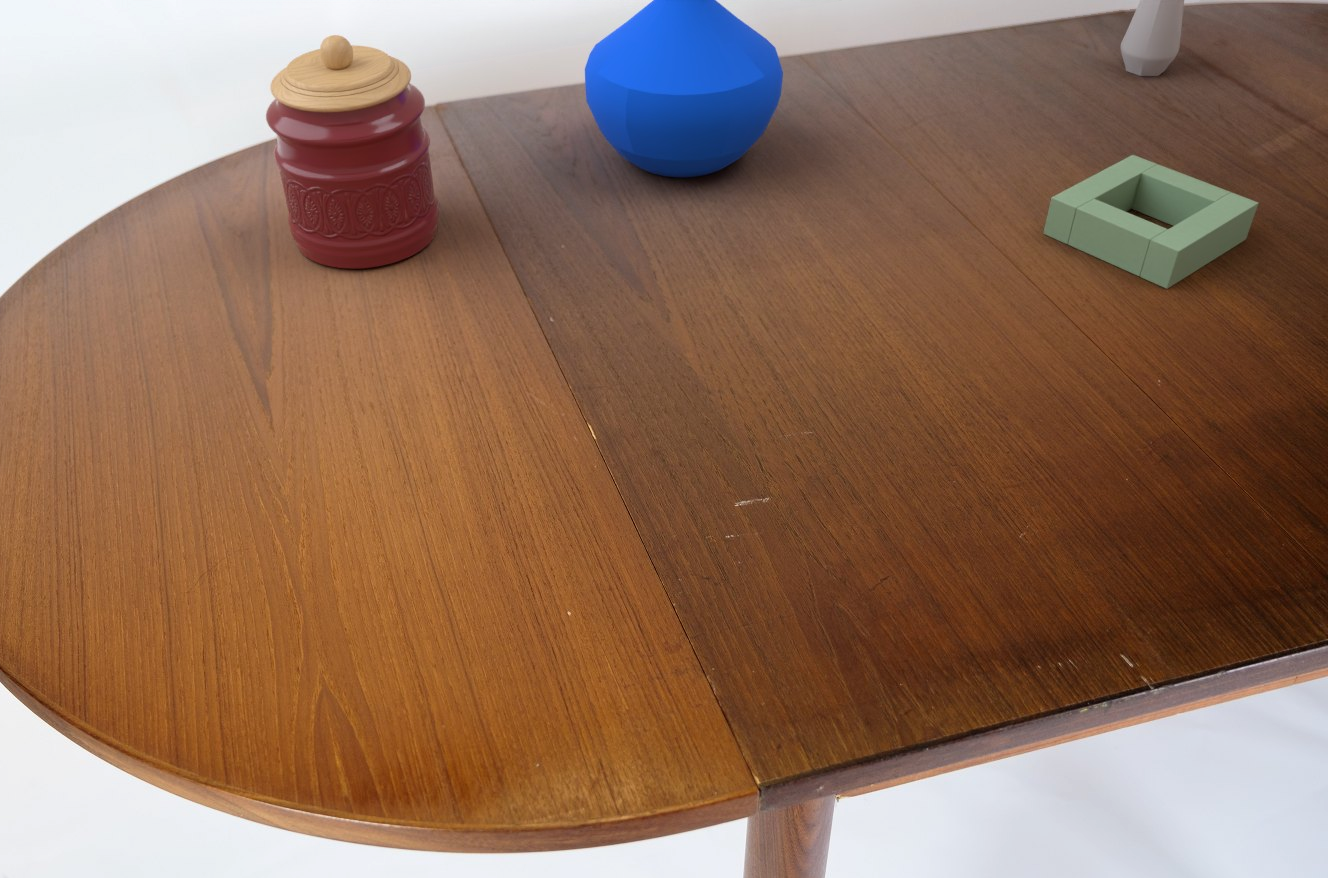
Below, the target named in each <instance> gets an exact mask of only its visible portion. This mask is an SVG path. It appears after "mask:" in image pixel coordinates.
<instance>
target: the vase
mask: <svg viewBox="0 0 1328 878" xmlns="http://www.w3.org/2000/svg"><path fill="white" fill-rule="evenodd" d="M783 76H784V71H783V68H782V64H781V62H780V57H779V55H778V52H777V48H776V46H775V45H774V44H773V43H771V42H770V40H768V38H766V37H764V36H763V35H762V34H761V33H759V32H758V31H757V30H755V29H754V28H752V27H751V26H750V25H748V24H747V23H746V22H744V21H743V20H741V19H740V18H738V17H737V16H736V15H735V14H733V13H732V12H731V11H730V10H729V9H727V8H726V7H725V6H723V5H722V4H721V3H720V2H719V1H717V0H651V2H649V3H648V4H647V5H646V6H644V7H643V8H642V9H640V10H639V11H638V12H636V13H635V14H634V15H633V16H631V18H629V19H628V20H627V21H625V22H624V23H623V24H622V25H620V26H619V27H617V28H616V29H615V30H613V31H612V32H610V33H609V34H608V35H607V36H605V37H604V38H602V39H600V41H598V42H597V43H595V45H594V46H593V48H592V49H591V51H590V53H589V56H588V58H587V61H586V64H585V66H584V84H585V85H584V86H585V100H586V104H587V106H588V108H589V110H590V112H591V114H592V117H593V118H594V121H595V123H596V125H597V127H598V130H599V131H600V133H601V134H602V136H603V137H604V139H605V140H606V142H608V144H609V145H611V147H612V148H613V149H614V150H615V151H616V153H618V155H620V156H621V157H623V158H624V159H625V160H627V161H628V162H629V163H631V164H632V165H634V166H636V167H638V168H639V169H641V170H642V171H645V172H648V173H650V174H654V175H658V176H663V177H668V178H669V177H670V178H695V177H700V176H701V177H702V176H707V175H710V174H713V173H716V172H719V171H721V170H723V169H724V168H726V167H728V166H729V165H731V164H733V163H734V162H737V161H738V160H739V159H741V158H742V157H743V156H744V155H746V153H747V152H748V151H749V150H750V149H751V148H752V146H753V145H755V144H756V142H757V141H758V140H759V139H760V138H761V137H762V136H763V135H764V133H765V131H766V130H767V127H768V125H769V123H770V121H771V119H772V118H773V115H774V113H775V111H776V109H777V107H778V105H779V102H780V99H781V96H782V88H783V78H784V77H783Z"/></svg>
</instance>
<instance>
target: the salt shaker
mask: <svg viewBox="0 0 1328 878" xmlns="http://www.w3.org/2000/svg"><path fill="white" fill-rule="evenodd" d="M1184 6H1185V0H1139V3H1138V5H1137V7H1136V9H1135V12H1134V14H1133V16H1132V18H1131V21H1130V23H1129V24H1128V25H1129V26H1128V28H1127V30H1126V32H1125V33H1124V37H1123V39H1122V41H1121V43H1120V49H1119V50H1120V53H1121V56H1122V60H1123V64H1124V68H1125V72H1129V73H1131V74H1134V75H1137V76H1139V77H1159V76H1160V75H1161V74H1162V73H1164V72H1165V71H1166V70H1167V69H1168V67H1169V66H1170V64H1172V62H1173V61H1174V60H1175V59H1176V57H1177V55H1178V53H1179V51H1180V48H1181V38H1182V37H1181V36H1182V28H1183V27H1182V26H1183V16H1184Z"/></svg>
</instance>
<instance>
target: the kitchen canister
mask: <svg viewBox="0 0 1328 878" xmlns="http://www.w3.org/2000/svg"><path fill="white" fill-rule="evenodd" d="M411 80H412V73H411V70H410V67H408V65H407V64H406V63H405V62H403V61H402V60H400V59H398V58H396V57H393V56H392V55H389V54H388V53H386V52H385V51H383V50H380V49H378V48H375V47H371V46H365V45H356V44H355V45H353V44H351V43H350V41H349V40H348V39H347V38H345V37H344V36H342V35H339V34H333V35H329V36H327V37H325V38H324V39H323V40H322V42H321V44H320V47H319V48H317V49H314V50H311V51H308V52H305V53H303V54H301V55H299V56H297V57H295V58H293V59H292V60H291V61H290V62H289V63H288V64H287V66H286V67H285V68H283V69H281V70H280V71H279V72H278V73H277V74H276V75H275V76H274V77H273V78H272V80H271V83H270V92H271V94H272V96H273V98H274V99H273V100H272V101H271V102H270V104H269V106H268V107H267V110H266V113H265V120H266V123H267V125H268V127H269V129H270V130H271V131H272V132H273V133H275V135H276V144H275V146H274V150H273V159H274V162H275V164H276V166H278V169H279V174H280V180H281V184H282V188H283V193H284V198H285V203H286V207H287V212H288V213H287V223H288V226H289V231H290V234H291V237H292V238H293V240H294V241H295V245H296V247H297V249H298V250H299V252H300V253H301V254H302V255H303V256H304V257H306V258H307V259H309V260H311V261H313V262H315V263H318V264H320V265H324V266H328V267H332V268H337V269H353V270H355V269H356V270H357V269H368V268H369V269H370V268H376V267H382V266H387V265H391V264H394V263H399V262H400V261H403V260H405V259H407V258H410V257H411V256H413V255H416V254H418V253H419V252H421V251H422V250H423V249H425V248H426V247H428V245H430V243H431V242H432V241H433V240H434V239H435V236H436V234H437V231H438V222H439V221H438V220H439V215H440V212H439V211H440V210H439V207H438V206H439V201H438V199H437V196H436V194H435V187H434V180H433V173H432V164H431V156H430V145H431V138H430V134H429V132H428V130H427V129H426V128H425V126H424V125H423V124H422V120H421V119H422V118H421V116H422V115H423V112H424V110H425V107H426V100H425V97H424V94H423V93H422V91H420V89H419V88H418V87H417V86H415V85H414V84H412V83H411Z"/></svg>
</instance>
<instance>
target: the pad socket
mask: <svg viewBox="0 0 1328 878" xmlns="http://www.w3.org/2000/svg"><path fill="white" fill-rule="evenodd" d="M1258 206H1259V202H1257V201H1256V200H1252V199H1250V198H1247V197H1245V196H1243V195H1240V194H1237V193H1234V192H1232V191H1229V190H1226V189H1224V188H1221V187H1219V186H1216V185H1214V184H1211V183H1208V182H1206V181H1203V180H1201V179H1197V178H1196V177H1192V176H1190V175H1188V174H1185V173H1182V172H1179V171H1177V170H1174V169H1172V168H1170V167H1167V166H1163V165H1161V164H1158V163H1156V162H1153V161H1150V160H1148V159H1145V158H1143V157H1140V156H1137V155H1135V154H1131V155H1129V156H1128V157H1126V158H1124V159H1122V160H1120V161H1118V162H1116V163H1114V164H1112V165H1110V166H1108V167H1106V168H1105V169H1103V170H1100V171H1098V172H1096V173H1095V174H1093V175H1091V176H1090V177H1087V178H1086V179H1084V180H1082V181H1080V182H1078V183H1076V184H1074V185H1072V186H1070V187H1068V188H1067V189H1065V190H1062V191H1060V192H1059V193H1057V194H1056V195H1053V196H1051V198H1050V201H1049V206H1048V211H1047V214H1046V219H1045V224H1044V229H1043V233H1042V234H1043V235H1045V236H1048V237H1050V238H1052V239H1054V240H1056V241H1058V242H1061V243H1063V244H1065V245H1068V246H1070V247H1072V248H1074V249H1076V250H1079V251H1081V252H1082V253H1085V254H1088V255H1090V256H1092V257H1094V258H1097V259H1099V260H1101V261H1103V262H1106V263H1108V264H1109V265H1112V266H1115V267H1117V268H1119V269H1122V270H1123V271H1126V272H1128V273H1130V274H1133V275H1135V276H1137V277H1139V278H1142V279H1144V280H1146V281H1147V282H1151V283H1152V284H1155V285H1157V286H1159V287H1161V288H1163V289H1166V290H1168V289H1169V288H1172V286H1174V285H1176V284H1177V283H1179V282H1180V281H1182V280H1184V279H1185V278H1187V277H1189V276H1190V275H1192V274H1193V273H1194V272H1197V271H1198V270H1200V269H1201V268H1203V267H1204V266H1205V265H1208V264H1209V263H1211V262H1213V261H1214V260H1216V259H1218V258H1219V257H1221V256H1222V255H1224V254H1225V253H1227V252H1228V251H1230V250H1231V249H1233V248H1235V247H1236V246H1238V245H1240V244H1241V243H1243V242H1245V241H1246V240H1247V238H1248V235H1249V233H1250V229H1251V227H1252V224H1253V220H1254V218H1255V215H1256V213H1257V209H1258ZM1130 210H1132V211H1133V210H1134V211H1136V212H1138V213H1140V214H1144V215H1145V216H1148V217H1150V218H1153V219H1155V220H1157V221H1159V222H1162V223H1165V224H1167V225H1169V226H1172V227H1170V228H1166V227H1163V226H1161V225H1159V224H1157V223H1154V222H1152V221H1150V220H1146V219H1144V218H1142V217H1140V216H1137V215H1134V214H1133V213H1130V212H1128V211H1130Z"/></svg>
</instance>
